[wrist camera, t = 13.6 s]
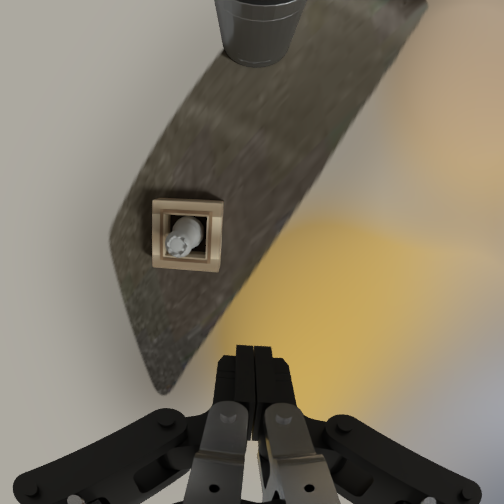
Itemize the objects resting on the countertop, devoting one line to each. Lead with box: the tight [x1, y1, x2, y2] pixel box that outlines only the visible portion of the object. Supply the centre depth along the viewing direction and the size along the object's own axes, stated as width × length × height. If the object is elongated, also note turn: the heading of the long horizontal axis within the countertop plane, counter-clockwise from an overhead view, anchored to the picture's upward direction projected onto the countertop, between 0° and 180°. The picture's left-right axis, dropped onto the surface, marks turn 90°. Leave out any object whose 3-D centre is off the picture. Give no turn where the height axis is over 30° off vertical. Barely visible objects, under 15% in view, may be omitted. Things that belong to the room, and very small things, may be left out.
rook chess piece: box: [165, 216, 205, 258], centre depth 36 cm, size 4×4×8 cm
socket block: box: [152, 198, 224, 272], centre depth 39 cm, size 9×9×3 cm
